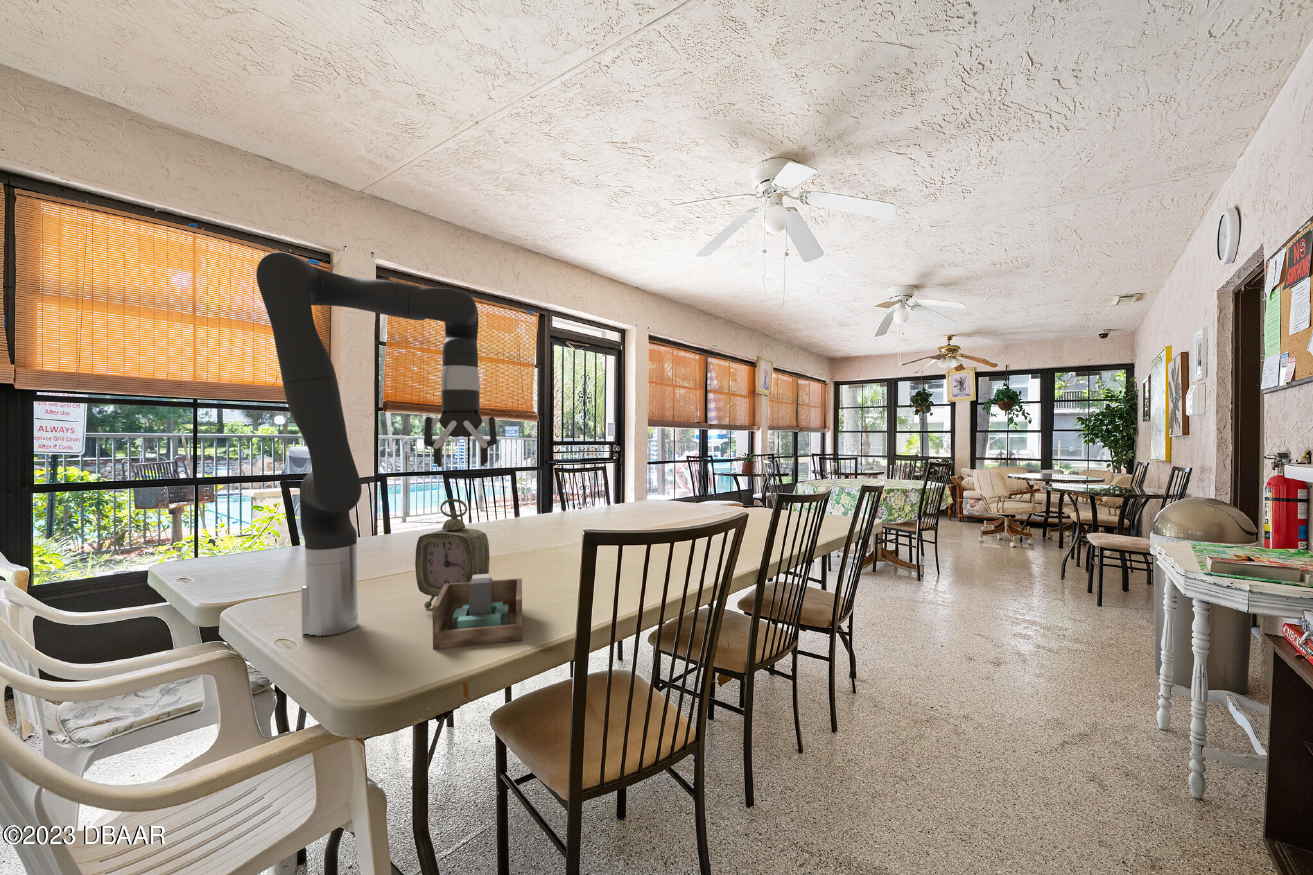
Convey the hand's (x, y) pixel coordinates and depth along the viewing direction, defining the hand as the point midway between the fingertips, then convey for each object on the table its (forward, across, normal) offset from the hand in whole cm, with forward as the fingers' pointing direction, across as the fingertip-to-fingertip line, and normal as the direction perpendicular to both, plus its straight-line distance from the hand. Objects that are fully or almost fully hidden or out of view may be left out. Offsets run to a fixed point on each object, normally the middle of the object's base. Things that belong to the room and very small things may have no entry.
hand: (461, 466), depth 115 cm
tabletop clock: (+33, -3, +13) cm, 36 cm away
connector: (+32, +4, -5) cm, 33 cm away
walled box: (+33, +4, -5) cm, 34 cm away
